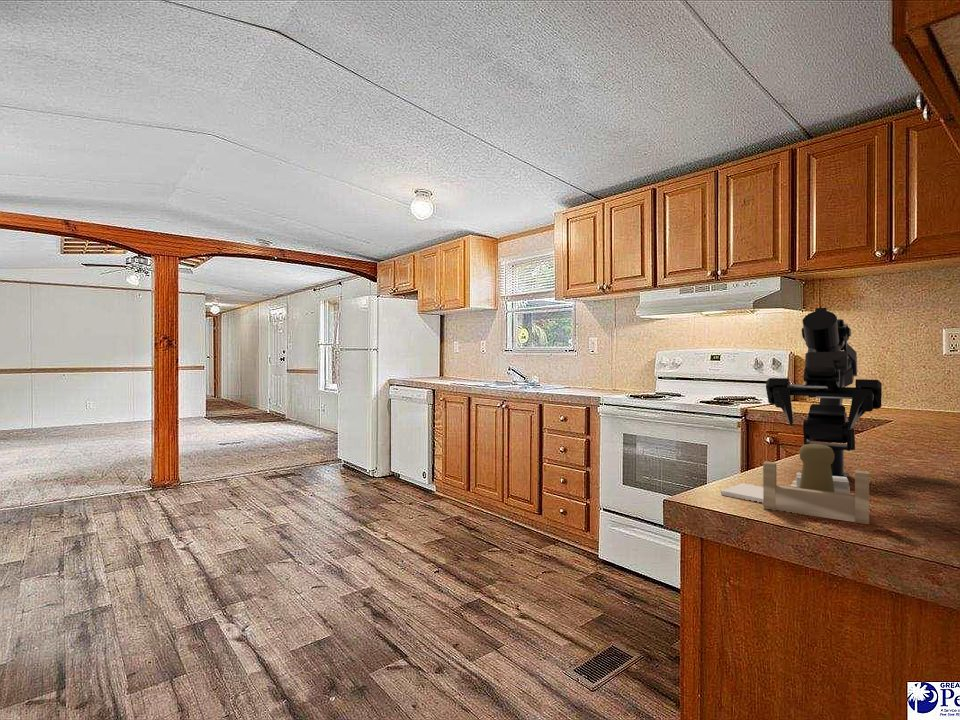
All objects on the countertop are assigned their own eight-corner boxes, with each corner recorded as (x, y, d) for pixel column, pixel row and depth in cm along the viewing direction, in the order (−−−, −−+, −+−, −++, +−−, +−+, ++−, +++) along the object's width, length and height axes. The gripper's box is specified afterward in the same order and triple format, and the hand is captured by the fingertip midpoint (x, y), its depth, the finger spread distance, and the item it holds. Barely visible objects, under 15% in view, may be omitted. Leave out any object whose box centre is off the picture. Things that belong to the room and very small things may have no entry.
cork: (800, 510, 90) (800, 446, 90) (793, 500, 96) (793, 440, 96) (841, 513, 88) (841, 448, 88) (832, 503, 94) (832, 442, 94)
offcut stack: (793, 490, 103) (793, 471, 103) (849, 497, 97) (849, 477, 97) (790, 496, 98) (790, 476, 98) (848, 504, 93) (848, 483, 93)
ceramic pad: (741, 487, 106) (741, 483, 106) (787, 495, 99) (787, 491, 99) (720, 494, 101) (720, 490, 101) (767, 504, 94) (767, 499, 94)
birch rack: (765, 506, 93) (764, 461, 93) (869, 521, 84) (868, 471, 84) (763, 508, 91) (763, 463, 91) (869, 524, 82) (869, 473, 82)
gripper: (766, 338, 108) (758, 396, 99) (881, 335, 97) (882, 400, 88) (772, 375, 114) (765, 432, 105) (880, 376, 103) (882, 440, 94)
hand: (819, 426), depth 98 cm, fingers open, 9 cm apart
